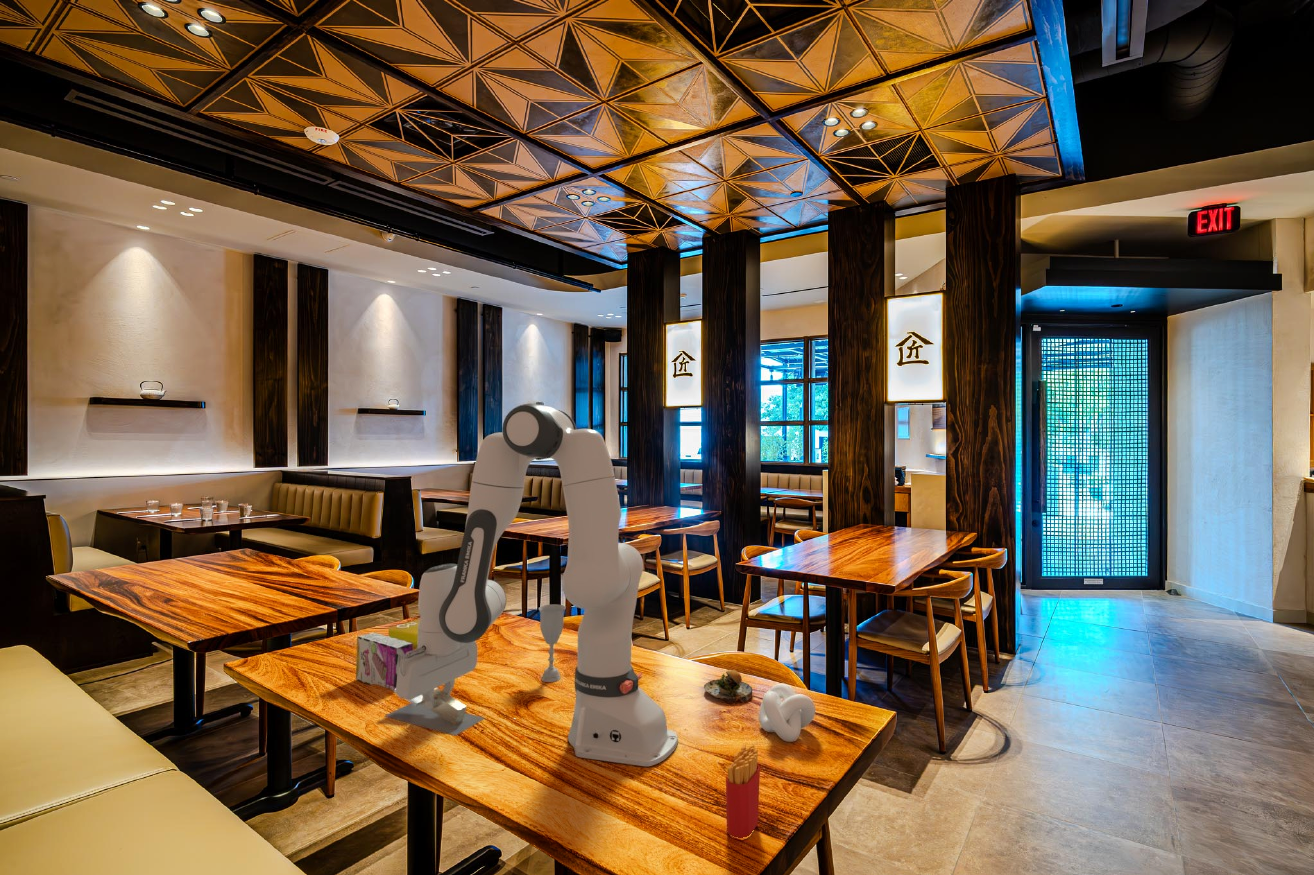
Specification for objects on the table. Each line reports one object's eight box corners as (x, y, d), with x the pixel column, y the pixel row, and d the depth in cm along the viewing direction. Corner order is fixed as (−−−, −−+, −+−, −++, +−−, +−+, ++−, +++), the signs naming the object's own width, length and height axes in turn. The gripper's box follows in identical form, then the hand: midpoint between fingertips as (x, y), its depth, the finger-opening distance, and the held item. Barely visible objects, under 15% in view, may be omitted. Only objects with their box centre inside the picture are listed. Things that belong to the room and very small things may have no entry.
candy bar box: (394, 695, 147) (354, 680, 156) (412, 688, 151) (373, 675, 160) (395, 647, 148) (355, 636, 157) (413, 642, 152) (374, 631, 161)
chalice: (558, 684, 155) (559, 612, 155) (532, 682, 156) (534, 610, 157) (568, 674, 162) (569, 605, 162) (543, 672, 164) (545, 603, 164)
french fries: (740, 811, 102) (740, 738, 102) (763, 819, 100) (763, 744, 100) (719, 840, 95) (720, 761, 95) (744, 848, 93) (745, 767, 93)
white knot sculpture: (803, 753, 122) (804, 707, 122) (746, 738, 128) (746, 695, 128) (818, 730, 132) (819, 688, 132) (764, 718, 138) (765, 677, 138)
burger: (707, 683, 158) (707, 654, 158) (753, 688, 155) (754, 658, 156) (700, 702, 146) (701, 671, 146) (751, 707, 144) (751, 675, 144)
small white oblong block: (467, 718, 133) (471, 703, 133) (450, 728, 128) (454, 712, 128) (411, 683, 140) (415, 669, 140) (393, 691, 136) (397, 676, 135)
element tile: (421, 651, 180) (422, 634, 180) (385, 643, 186) (385, 627, 186) (459, 637, 193) (459, 621, 193) (424, 630, 200) (424, 615, 200)
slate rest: (485, 722, 134) (485, 718, 134) (455, 740, 125) (455, 735, 125) (416, 705, 142) (416, 700, 142) (383, 720, 134) (384, 716, 134)
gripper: (412, 657, 123) (411, 727, 123) (482, 630, 141) (481, 691, 141) (389, 652, 125) (388, 721, 125) (461, 626, 144) (459, 686, 144)
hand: (438, 704), depth 133 cm, fingers closed on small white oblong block, 2 cm apart
